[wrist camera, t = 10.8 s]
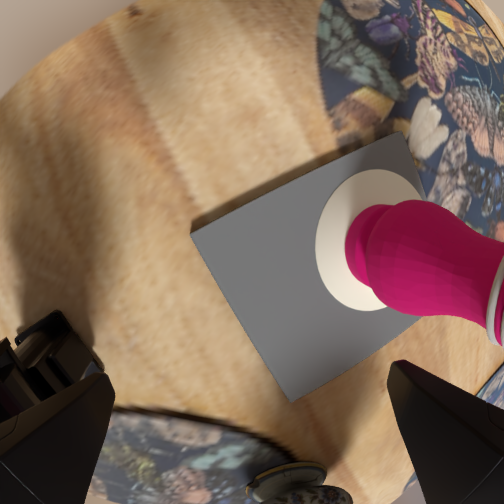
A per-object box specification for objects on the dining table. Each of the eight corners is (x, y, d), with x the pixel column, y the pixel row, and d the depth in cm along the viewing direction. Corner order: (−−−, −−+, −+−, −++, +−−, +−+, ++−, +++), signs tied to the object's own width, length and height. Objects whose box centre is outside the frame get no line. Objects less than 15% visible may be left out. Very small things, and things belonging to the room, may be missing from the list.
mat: (287, 397, 23) (290, 403, 22) (190, 233, 19) (189, 235, 18) (443, 292, 24) (449, 295, 23) (395, 132, 20) (402, 130, 19)
